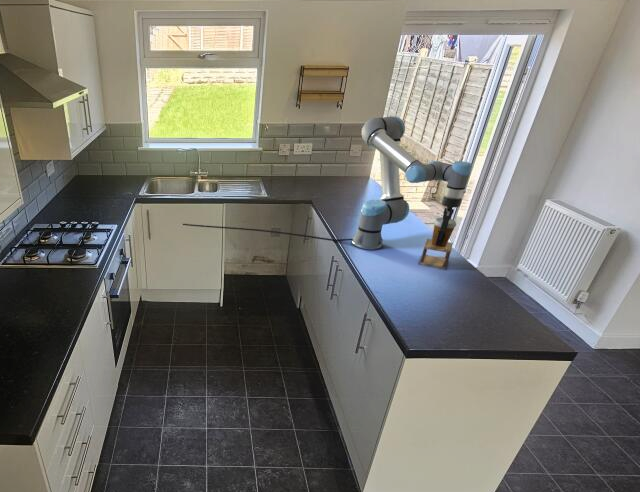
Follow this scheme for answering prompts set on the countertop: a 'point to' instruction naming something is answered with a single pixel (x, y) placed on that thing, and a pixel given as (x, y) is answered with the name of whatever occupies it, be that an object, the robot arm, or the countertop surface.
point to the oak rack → (434, 260)
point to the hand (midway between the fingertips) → (439, 241)
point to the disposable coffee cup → (447, 235)
